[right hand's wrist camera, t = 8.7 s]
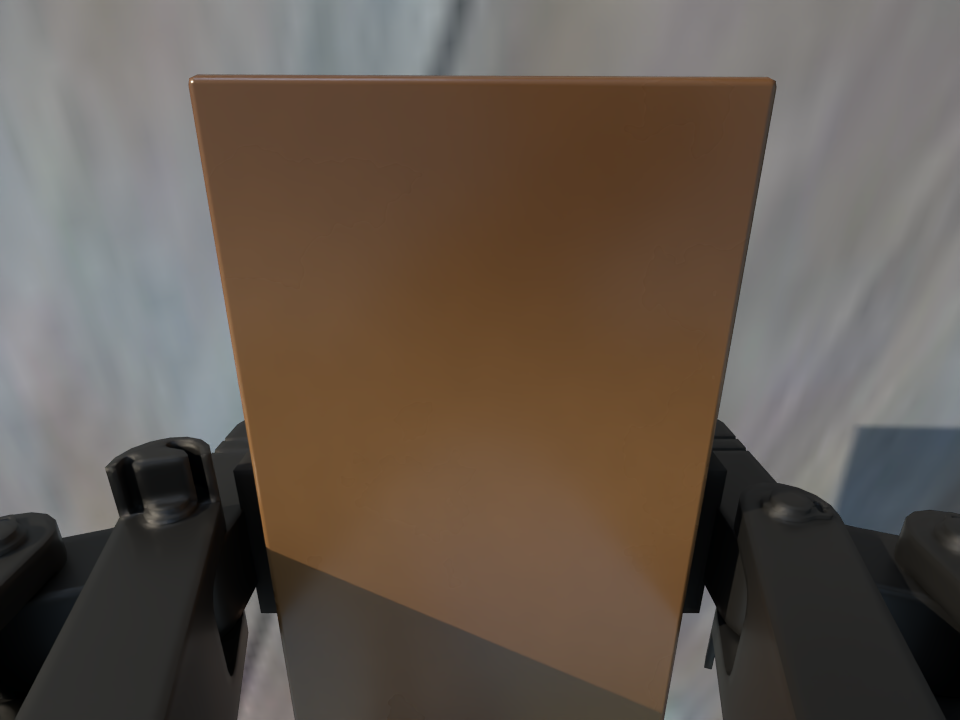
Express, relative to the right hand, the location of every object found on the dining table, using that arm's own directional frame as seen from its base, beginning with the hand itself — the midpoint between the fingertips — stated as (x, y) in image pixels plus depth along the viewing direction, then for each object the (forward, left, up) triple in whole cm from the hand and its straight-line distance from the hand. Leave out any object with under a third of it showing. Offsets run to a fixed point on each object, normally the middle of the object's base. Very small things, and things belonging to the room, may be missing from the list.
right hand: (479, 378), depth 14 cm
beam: (+2, +20, -1) cm, 20 cm away
